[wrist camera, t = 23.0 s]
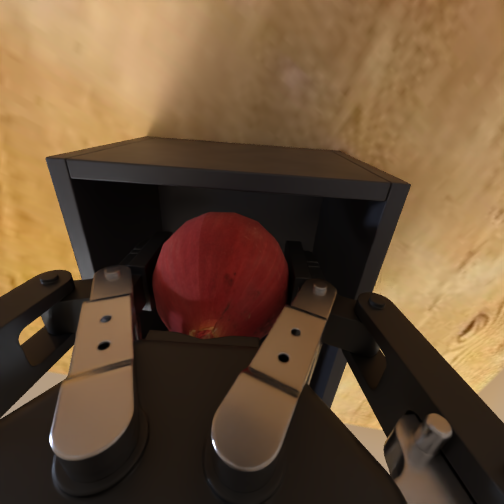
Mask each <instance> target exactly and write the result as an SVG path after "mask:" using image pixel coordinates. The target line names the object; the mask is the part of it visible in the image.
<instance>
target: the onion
mask: <svg viewBox="0 0 504 504" xmlns="http://www.w3.org/2000/svg"><path fill="white" fill-rule="evenodd" d="M152 287H153V293H154V298H155V303H156V308H157V312H158V314H159V316H160V318H161V320H162V321H163V323H164V324H165V326H166V327H167V328H168V330H169V331H173V332H179V333H183V334H186V335H190V336H193V337H196V338H200V339H211V338H218V337H226V336H246V337H260V339H261V338H263V337H264V336H266V335H267V334H268V333H269V331H270V330H271V328H272V326H273V325H274V323H275V321H276V320H277V318H278V316H279V315H280V313H281V312H282V310H283V308H284V306H285V304H286V302H287V299H288V297H289V270H288V263H287V261H286V259H285V257H284V254H283V252H282V250H281V248H280V246H279V243H278V242H277V241H276V239H275V238H274V237H273V236H272V235H271V234H270V233H269V232H268V231H267V230H266V229H265V228H264V227H263V226H262V225H261V224H260V223H259V222H258V221H255V220H253V219H250V218H248V217H245V216H242V215H240V214H237V213H234V212H208V213H205V214H203V215H200V216H198V217H195V218H193V219H190V220H188V221H186V222H185V223H184V224H183V225H182V226H181V227H180V228H179V229H178V230H177V231H176V232H175V233H174V234H173V235H172V236H171V237H170V238H169V239H168V240H167V241H166V242H165V243H164V244H163V246H162V249H161V252H160V255H159V257H158V260H157V263H156V266H155V269H154V272H153V275H152Z"/></svg>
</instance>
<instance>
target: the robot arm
mask: <svg viewBox="0 0 504 504" xmlns="http://www.w3.org/2000/svg"><path fill="white" fill-rule="evenodd" d="M172 235H173V232H168V231H157V232H156V233H155V234H154V235H153V236H152V237H151V238H150V239H146V240H144V241H142V242H140V243H138V244H137V245H136V246H135V247H134V249H132V251H131V252H130V254H128V255H127V256H126V257H125V258H124V259H123V260H122V261H121V262H120V263H119V264H118V265H110V266H106V267H104V268H101V269H100V270H98V271H97V272H96V273H95V274H94V276H93V278H92V279H84V280H75V281H73V278H72V275H71V273H70V272H68V271H65V270H53V271H48V272H45V273H42V274H39V275H37V276H35V277H33V278H32V279H30V280H28V281H27V282H25V283H23V284H22V285H20V286H18V287H16V288H15V289H13V290H11V291H10V292H8V293H6V294H5V295H3V296H1V297H0V418H1V417H2V416H3V415H4V414H5V413H6V412H7V411H8V410H9V409H10V408H11V406H12V405H14V404H15V403H16V402H17V401H18V400H19V399H20V398H21V397H22V396H23V395H24V394H25V393H26V392H27V391H28V390H29V389H30V388H31V387H32V386H33V385H34V384H35V383H36V382H37V381H38V380H39V379H40V378H41V377H42V376H43V375H44V374H45V373H46V372H47V371H48V370H49V369H50V368H51V367H52V366H53V365H54V364H55V363H56V362H57V361H58V360H59V359H60V358H61V357H62V356H63V355H64V354H65V353H66V352H67V351H68V350H69V349H70V348H71V347H72V346H73V345H74V348H73V353H72V358H71V363H70V368H69V373H68V376H67V378H66V379H65V380H63V381H61V382H60V383H58V384H57V385H55V386H53V387H52V388H50V389H49V390H47V391H45V392H44V393H42V394H41V395H39V396H38V397H36V398H34V399H33V400H31V401H29V402H28V403H26V404H24V405H23V406H21V407H20V408H18V409H17V410H15V411H13V412H12V413H10V414H8V415H7V416H5V417H3V418H2V419H0V504H504V423H503V422H502V421H501V420H500V419H499V418H498V417H497V415H496V414H495V413H494V412H493V411H492V410H491V409H490V408H489V407H488V406H487V405H486V404H485V403H484V401H483V400H482V399H481V398H480V397H479V396H478V395H477V394H476V393H475V392H474V391H473V389H472V388H471V387H470V386H469V385H468V384H467V383H466V382H465V381H464V380H463V379H462V377H461V376H460V375H459V374H458V373H457V372H456V371H455V370H454V369H453V368H452V367H451V366H450V364H449V363H448V362H447V361H446V360H445V359H444V358H443V357H442V356H441V355H440V354H439V353H438V351H437V350H436V349H435V348H434V347H433V346H432V345H431V344H430V343H429V342H428V341H427V340H426V338H425V337H424V336H423V335H422V334H421V333H420V332H419V331H418V330H417V329H416V328H415V326H414V325H413V324H412V323H411V322H410V321H409V320H408V319H407V318H406V317H405V316H404V315H403V313H402V312H401V311H400V310H399V309H398V308H397V307H396V306H395V305H394V304H393V303H392V302H391V301H390V300H389V299H387V298H386V297H384V296H382V295H379V294H376V293H371V292H365V293H361V294H360V295H359V296H358V299H357V300H354V299H350V298H346V297H343V296H341V295H338V294H337V290H336V288H335V286H334V285H332V284H331V283H329V282H328V281H326V280H325V278H324V275H323V273H322V270H321V268H320V265H319V263H318V260H317V258H316V256H315V255H314V254H313V253H312V252H310V251H304V250H303V247H302V244H301V241H289V240H287V241H286V244H285V250H284V257H285V259H286V261H287V263H288V270H289V297H288V299H287V302H286V304H285V307H284V308H283V310H282V312H281V313H280V315H279V316H278V318H277V320H276V321H275V323H274V325H273V326H272V328H271V330H270V331H269V333H268V335H267V336H266V338H265V340H264V341H263V343H262V344H261V346H260V337H246V336H226V337H218V338H211V339H200V338H196V337H193V336H190V335H186V334H183V333H179V332H173V331H159V330H149V332H148V334H147V336H146V338H145V339H142V332H141V321H140V315H139V314H140V312H141V311H142V310H147V311H152V309H153V307H154V305H155V304H156V303H155V298H154V293H153V287H152V275H153V272H154V269H155V266H156V263H157V260H158V257H159V255H160V252H161V249H162V246H163V244H164V243H165V242H166V241H167V240H168V239H169V238H170V237H171V236H172ZM39 316H41V317H42V320H43V322H44V324H45V326H44V327H43V328H42V329H41V330H39V331H38V332H37V333H36V334H34V335H33V336H32V337H31V338H29V339H28V340H27V341H26V342H24V343H23V344H22V345H21V346H20V344H19V340H18V339H19V335H20V333H21V331H22V330H23V329H24V328H25V327H26V326H27V325H29V324H30V323H31V322H33V321H34V320H35V319H37V318H38V317H39ZM323 343H325V344H328V345H331V346H334V347H337V348H340V349H342V352H343V355H344V356H345V358H346V360H347V362H348V364H349V366H350V368H351V370H352V372H353V374H354V375H355V377H356V379H357V381H358V383H359V385H360V387H361V389H362V391H363V393H364V395H365V396H366V398H367V400H368V402H369V404H370V406H371V408H372V410H373V412H374V414H375V415H376V417H377V419H378V421H379V423H380V425H381V427H382V429H383V431H384V433H385V435H386V436H387V440H386V441H385V444H384V456H385V459H386V463H387V465H388V468H389V472H390V475H389V474H388V472H387V471H386V470H385V469H384V468H383V467H382V466H381V464H380V463H379V462H378V461H377V460H376V459H375V458H374V457H373V456H372V455H371V453H370V452H369V451H368V450H367V449H366V448H365V447H364V446H363V445H362V444H361V443H360V441H359V440H358V439H357V438H356V437H355V436H354V435H353V434H352V433H351V431H350V430H349V429H348V428H347V427H346V426H345V425H344V424H343V423H342V421H341V420H340V419H339V418H338V417H337V416H336V415H335V414H334V413H333V412H332V410H331V409H330V408H329V407H328V406H327V405H326V404H325V403H324V402H323V401H322V399H321V398H320V397H319V396H318V395H317V394H316V393H315V392H314V391H313V390H312V388H311V387H310V386H309V384H310V380H311V377H312V374H313V371H314V368H315V365H316V362H317V359H318V356H319V353H320V350H321V347H322V344H323ZM380 349H381V350H382V352H383V353H384V355H385V356H384V355H383V353H382V352H381V350H380Z"/></svg>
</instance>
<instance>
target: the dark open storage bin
mask: <svg viewBox="0 0 504 504" xmlns="http://www.w3.org/2000/svg"><path fill="white" fill-rule="evenodd" d="M46 162H47V165H48V169H49V172H50V175H51V178H52V182H53V185H54V188H55V192H56V195H57V198H58V202H59V205H60V208H61V212H62V215H63V218H64V221H65V225H66V228H67V231H68V235H69V238H70V241H71V245H72V248H73V251H74V255H75V258H76V261H77V264H78V268H79V271H80V274H81V278H82V280H84V279H92V278H93V276H94V274H95V273H96V272H97V271H98V270H100V269H101V268H104V267H106V266H110V265H118V264H119V263H120V262H121V261H122V260H123V259H124V258H125V257H126V256H127V255H128V254H130V252H131V251H132V249H134V247H135V246H136V245H137V244H138V243H140V242H142V241H144V240H146V239H150V238H151V237H152V236H153V235H154V234H155V233H156V232H157V231H168V232H173V234H174V233H175V232H176V231H177V230H178V229H179V228H180V227H181V226H182V225H183V224H184V223H185V222H186V221H188V220H190V219H193V218H195V217H198V216H200V215H203V214H205V213H208V212H234V213H237V214H240V215H242V216H245V217H248V218H250V219H253V220H255V221H258V222H259V223H260V224H261V225H262V226H263V227H264V228H265V229H266V230H267V231H268V232H269V233H270V234H271V235H272V236H273V237H274V238H275V239H276V241H277V242H278V243H279V246H280V248H281V250H282V252H283V254H284V250H285V244H286V241H287V240H289V241H301V244H302V247H303V250H304V251H310V252H312V253H313V254H314V255H315V256H316V258H317V260H318V263H319V265H320V268H321V270H322V273H323V275H324V278H325V280H326V281H328V282H329V283H331V284H332V285H334V286H335V288H336V290H337V294H338V295H341V296H343V297H346V298H350V299H354V300H357V299H358V296H359V295H360V294H361V293H365V292H371V293H372V291H373V289H374V286H375V283H376V280H377V278H378V275H379V272H380V269H381V267H382V264H383V261H384V258H385V255H386V253H387V250H388V247H389V244H390V242H391V239H392V236H393V233H394V231H395V228H396V225H397V222H398V220H399V217H400V214H401V211H402V208H403V206H404V203H405V200H406V197H407V195H408V192H409V189H410V186H411V184H409V183H407V182H405V181H403V180H401V179H399V178H396V177H394V176H392V175H390V174H388V173H386V172H384V171H382V170H379V169H377V168H375V167H373V166H371V165H369V164H367V163H365V162H362V161H360V160H358V159H356V158H354V157H352V156H350V155H348V154H345V153H343V152H341V151H335V150H322V149H308V148H295V147H281V146H268V145H255V144H241V143H228V142H214V141H201V140H188V139H174V138H161V137H148V136H146V137H141V138H136V139H132V140H127V141H122V142H117V143H112V144H107V145H102V146H98V147H93V148H88V149H83V150H78V151H73V152H69V153H64V154H59V155H54V156H49V157H46ZM284 307H285V306H284ZM139 315H140V321H141V332H142V339H145V338H146V336H147V334H148V332H149V330H159V331H169V330H168V328H167V327H166V326H165V324H164V323H163V321H162V320H161V318H160V316H159V314H158V312H157V308H156V304H155V305H154V307H153V309H152V311H147V310H142V311H141V312H140V314H139ZM267 335H268V334H267ZM267 335H266V336H267ZM266 336H264V337H263V338H261V339H260V346H261V344H262V343H263V341H264V340H265V338H266ZM346 363H347V360H346V358H345V356H344V355H343V352H342V349H340V348H337V347H334V346H331V345H328V344H325V343H323V344H322V347H321V350H320V353H319V356H318V359H317V362H316V365H315V368H314V371H313V374H312V377H311V380H310V384H309V386H310V387H311V388H312V390H313V391H314V392H315V393H316V394H317V395H318V396H319V397H320V398H321V399H322V401H323V402H324V403H325V404H326V405H327V406H328V407H329V408H331V405H332V402H333V399H334V396H335V394H336V391H337V388H338V385H339V383H340V380H341V377H342V374H343V372H344V369H345V366H346Z"/></svg>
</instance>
